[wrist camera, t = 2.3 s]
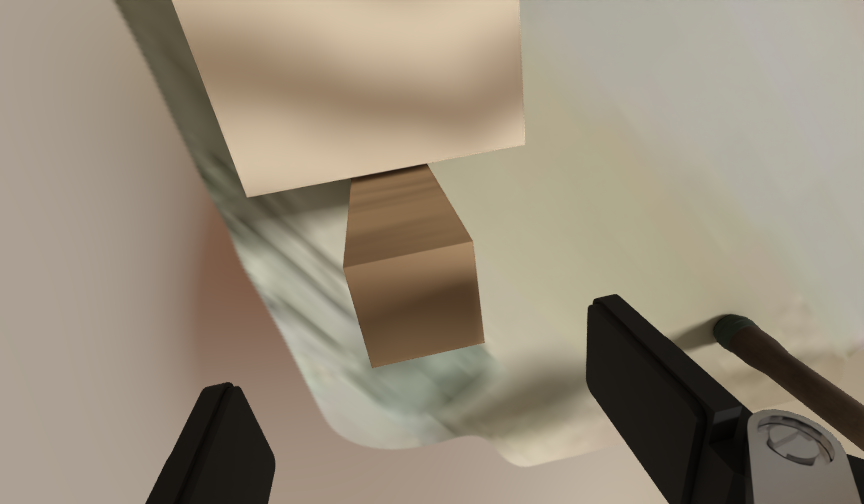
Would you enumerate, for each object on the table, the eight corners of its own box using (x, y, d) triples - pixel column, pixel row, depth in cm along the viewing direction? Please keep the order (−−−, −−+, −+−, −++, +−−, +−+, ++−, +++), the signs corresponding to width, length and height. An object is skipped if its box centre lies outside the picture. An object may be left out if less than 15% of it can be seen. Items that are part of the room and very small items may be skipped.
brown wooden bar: (354, 146, 28) (343, 267, 12) (410, 136, 28) (472, 241, 12) (367, 200, 30) (371, 367, 14) (420, 190, 30) (484, 342, 14)
